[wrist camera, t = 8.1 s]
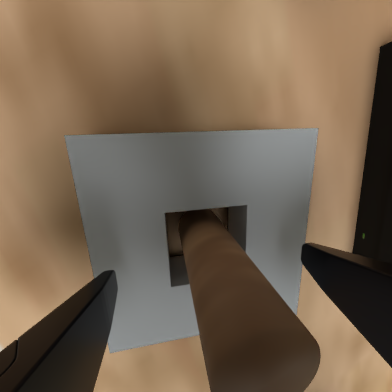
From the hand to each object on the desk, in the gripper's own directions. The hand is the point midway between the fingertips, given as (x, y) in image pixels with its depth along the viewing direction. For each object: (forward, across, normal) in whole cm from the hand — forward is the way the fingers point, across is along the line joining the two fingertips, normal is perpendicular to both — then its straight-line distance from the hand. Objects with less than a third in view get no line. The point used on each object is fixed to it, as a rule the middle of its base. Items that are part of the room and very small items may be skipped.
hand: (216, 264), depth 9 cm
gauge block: (+5, 0, 0) cm, 5 cm away
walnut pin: (+5, 0, 0) cm, 5 cm away
